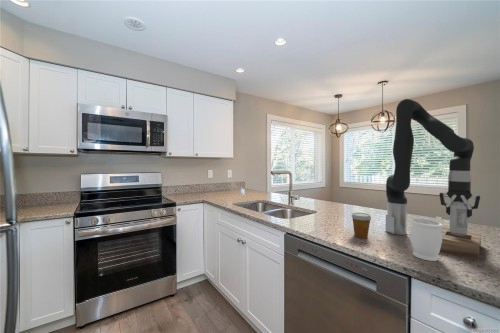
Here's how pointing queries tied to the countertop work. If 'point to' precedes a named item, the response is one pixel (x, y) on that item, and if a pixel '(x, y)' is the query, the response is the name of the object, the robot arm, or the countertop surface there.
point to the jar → (426, 239)
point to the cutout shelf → (461, 244)
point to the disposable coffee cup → (361, 224)
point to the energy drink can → (458, 218)
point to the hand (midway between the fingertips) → (458, 215)
